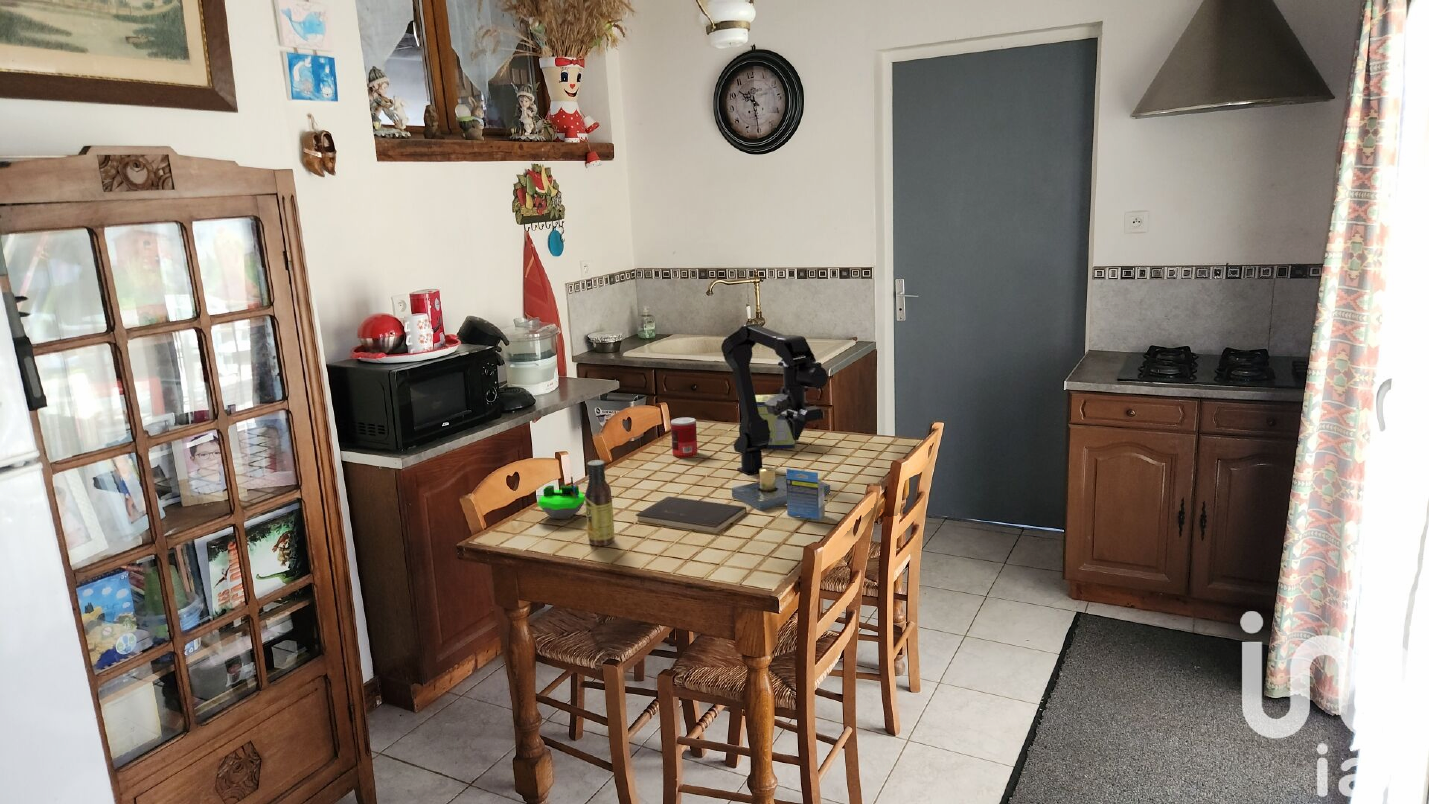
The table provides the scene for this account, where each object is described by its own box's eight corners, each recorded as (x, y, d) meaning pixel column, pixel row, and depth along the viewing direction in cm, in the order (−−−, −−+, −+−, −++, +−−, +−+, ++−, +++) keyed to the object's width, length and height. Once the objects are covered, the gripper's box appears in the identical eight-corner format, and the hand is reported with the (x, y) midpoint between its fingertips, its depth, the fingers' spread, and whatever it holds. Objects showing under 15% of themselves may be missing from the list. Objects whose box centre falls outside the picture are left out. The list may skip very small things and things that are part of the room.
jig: (732, 496, 252) (731, 485, 251) (799, 481, 262) (799, 470, 261) (760, 510, 240) (760, 499, 239) (830, 493, 250) (830, 482, 250)
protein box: (748, 441, 307) (747, 394, 304) (796, 440, 305) (795, 393, 301) (745, 449, 297) (743, 401, 294) (795, 449, 295) (793, 400, 291)
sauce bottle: (589, 538, 226) (582, 458, 222) (615, 536, 226) (609, 456, 222) (587, 548, 220) (581, 466, 215) (614, 546, 220) (608, 464, 216)
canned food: (702, 452, 296) (700, 418, 293) (688, 459, 289) (686, 424, 287) (682, 450, 300) (680, 416, 298) (667, 456, 293) (665, 422, 291)
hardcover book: (716, 535, 226) (715, 526, 225) (636, 523, 237) (635, 514, 236) (746, 514, 239) (746, 505, 239) (669, 503, 250) (669, 495, 250)
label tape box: (825, 515, 234) (824, 468, 231) (819, 520, 231) (818, 472, 228) (793, 511, 238) (792, 464, 236) (786, 516, 235) (785, 468, 232)
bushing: (757, 498, 250) (756, 469, 248) (770, 495, 252) (769, 466, 250) (765, 501, 246) (764, 472, 245) (778, 498, 248) (777, 469, 247)
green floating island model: (592, 511, 246) (589, 470, 244) (576, 525, 235) (573, 483, 233) (548, 509, 249) (545, 469, 247) (531, 524, 238) (528, 482, 235)
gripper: (750, 382, 256) (752, 438, 259) (789, 393, 240) (790, 452, 244) (784, 377, 261) (785, 431, 265) (824, 387, 245) (825, 445, 249)
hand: (795, 440), depth 255 cm, fingers closed
